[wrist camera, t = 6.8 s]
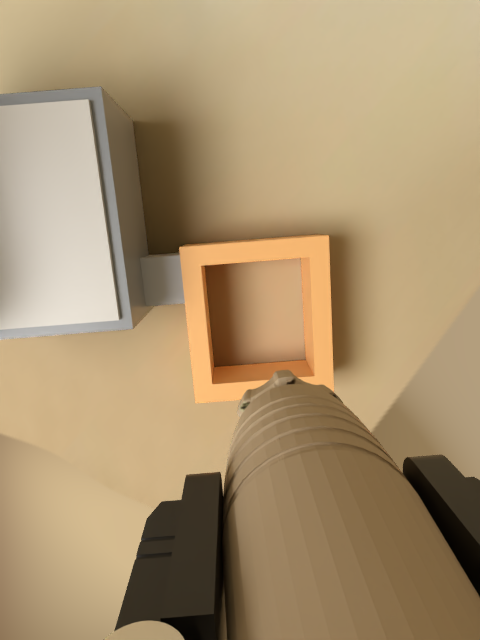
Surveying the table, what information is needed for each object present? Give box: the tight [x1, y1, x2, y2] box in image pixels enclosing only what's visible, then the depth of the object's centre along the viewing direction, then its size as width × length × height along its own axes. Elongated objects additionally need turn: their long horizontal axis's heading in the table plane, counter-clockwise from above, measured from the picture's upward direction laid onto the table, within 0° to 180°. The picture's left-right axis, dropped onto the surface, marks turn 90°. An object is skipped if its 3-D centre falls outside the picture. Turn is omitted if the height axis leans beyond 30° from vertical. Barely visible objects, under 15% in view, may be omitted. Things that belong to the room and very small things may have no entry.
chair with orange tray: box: [0, 87, 334, 403], centre depth 21 cm, size 18×22×17 cm
